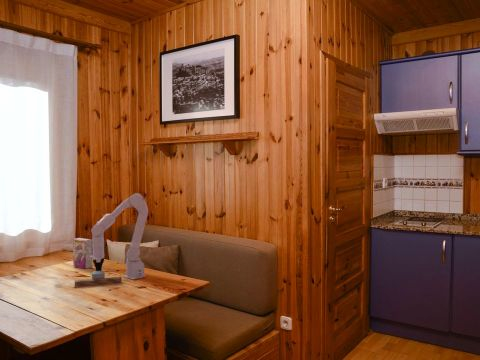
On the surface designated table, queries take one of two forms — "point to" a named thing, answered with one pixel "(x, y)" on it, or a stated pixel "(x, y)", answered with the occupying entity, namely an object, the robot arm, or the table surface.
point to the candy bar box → (82, 252)
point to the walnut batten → (98, 281)
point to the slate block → (98, 274)
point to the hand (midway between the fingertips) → (98, 273)
